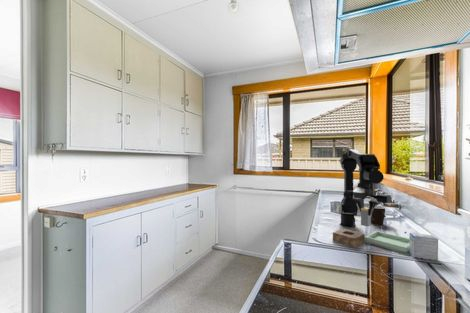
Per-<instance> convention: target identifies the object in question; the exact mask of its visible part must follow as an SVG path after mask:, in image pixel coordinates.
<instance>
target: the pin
mask: <svg viewBox="0 0 470 313" xmlns="http://www.w3.org/2000/svg"><path fill="white" fill-rule="evenodd" d="M360 225H361V226H364V227H370V226H372V224H371V215H370V216H369V207H367V206H364V207H362V208H361V212H360Z"/></svg>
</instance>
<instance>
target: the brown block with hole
mask: <svg viewBox="0 0 470 313" xmlns="http://www.w3.org/2000/svg"><path fill="white" fill-rule="evenodd" d="M364 237H365V233H363V232H359V231H356V230H352V229H348V228H341V229H338V230H335V231H333V232H332V241H333V240H334V241H333V242H335V241H337V242H336V243H338V242H339V243H338V244H341V245H345V246H348V247H351V248H357V247H359V246H360V245H362V244H364V243H365V242H364Z"/></svg>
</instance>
